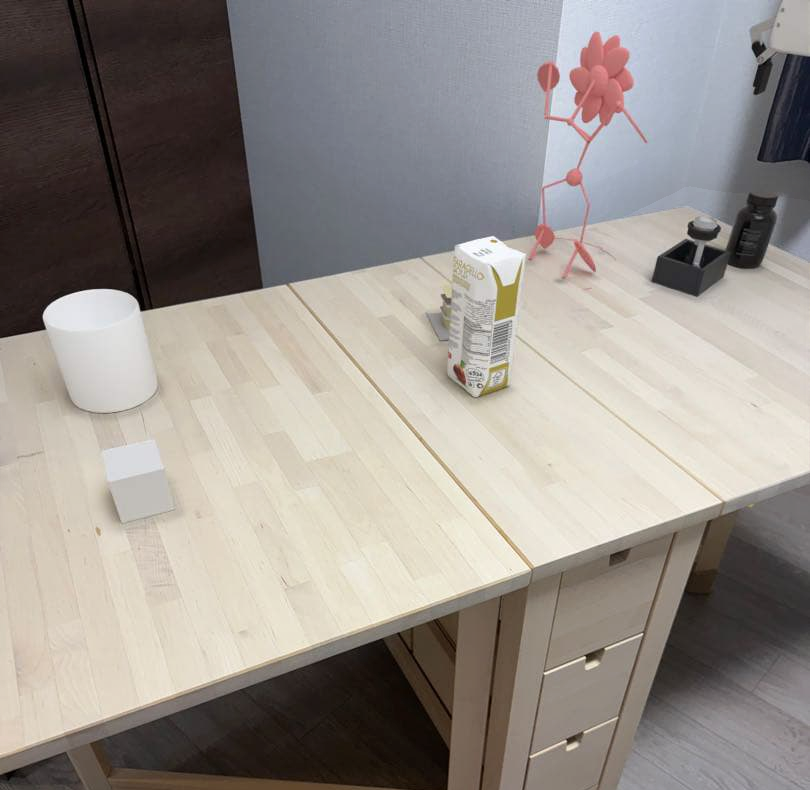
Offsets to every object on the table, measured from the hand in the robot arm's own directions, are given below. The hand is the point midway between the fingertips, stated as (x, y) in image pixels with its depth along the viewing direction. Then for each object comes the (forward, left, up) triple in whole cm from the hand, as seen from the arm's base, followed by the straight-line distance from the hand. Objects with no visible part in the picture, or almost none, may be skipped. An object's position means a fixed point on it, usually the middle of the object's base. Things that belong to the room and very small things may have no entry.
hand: (789, 98), depth 114 cm
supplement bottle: (+1, -6, -28) cm, 29 cm away
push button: (+5, +8, -27) cm, 29 cm away
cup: (+48, +96, -28) cm, 111 cm away
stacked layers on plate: (+24, +48, -28) cm, 60 cm away
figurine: (+24, +15, -28) cm, 40 cm away
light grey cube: (+25, +107, -28) cm, 113 cm away
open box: (+5, +8, -28) cm, 29 cm away
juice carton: (+12, +60, -28) cm, 67 cm away
